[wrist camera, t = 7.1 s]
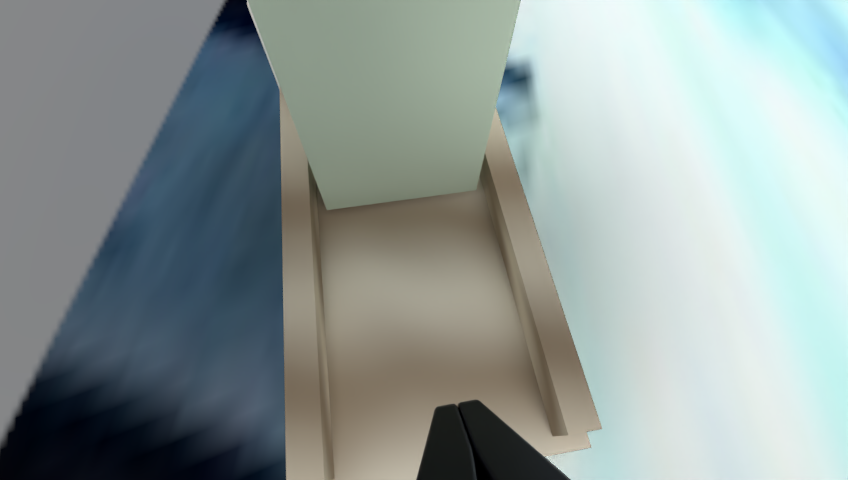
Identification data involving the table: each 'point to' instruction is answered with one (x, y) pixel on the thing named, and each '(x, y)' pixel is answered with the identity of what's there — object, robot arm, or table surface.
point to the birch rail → (418, 322)
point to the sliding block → (389, 90)
